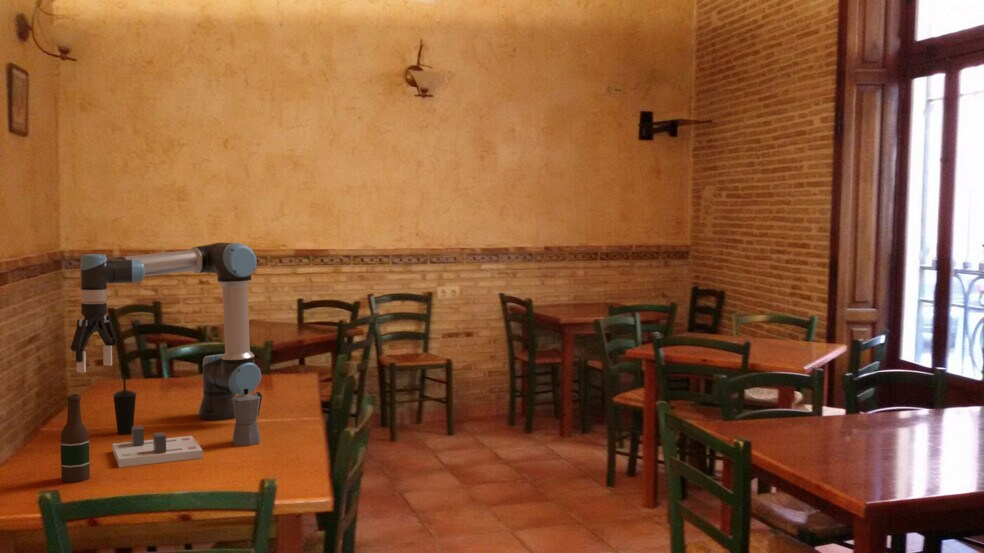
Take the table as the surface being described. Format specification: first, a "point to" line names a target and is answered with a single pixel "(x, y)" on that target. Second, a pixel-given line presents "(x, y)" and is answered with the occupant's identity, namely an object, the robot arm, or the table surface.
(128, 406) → the drinking cup
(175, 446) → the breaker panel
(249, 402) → the coffeepot
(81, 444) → the beer bottle
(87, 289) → the robot arm
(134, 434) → the on lever
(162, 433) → the lever
